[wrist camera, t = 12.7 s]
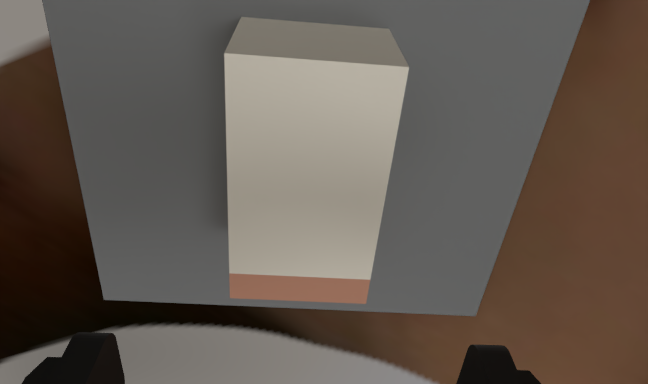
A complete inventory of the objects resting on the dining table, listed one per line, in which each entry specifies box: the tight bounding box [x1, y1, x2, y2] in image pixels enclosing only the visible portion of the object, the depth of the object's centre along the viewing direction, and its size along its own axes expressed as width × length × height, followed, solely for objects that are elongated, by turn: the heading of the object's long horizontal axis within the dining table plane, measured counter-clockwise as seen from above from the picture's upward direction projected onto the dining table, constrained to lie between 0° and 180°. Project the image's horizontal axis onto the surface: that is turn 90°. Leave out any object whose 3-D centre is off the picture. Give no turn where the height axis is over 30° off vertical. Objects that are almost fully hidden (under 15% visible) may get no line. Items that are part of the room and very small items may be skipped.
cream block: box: [224, 17, 409, 304], centre depth 17 cm, size 5×9×4 cm, turn 175°
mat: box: [42, 0, 590, 316], centre depth 19 cm, size 18×18×1 cm
